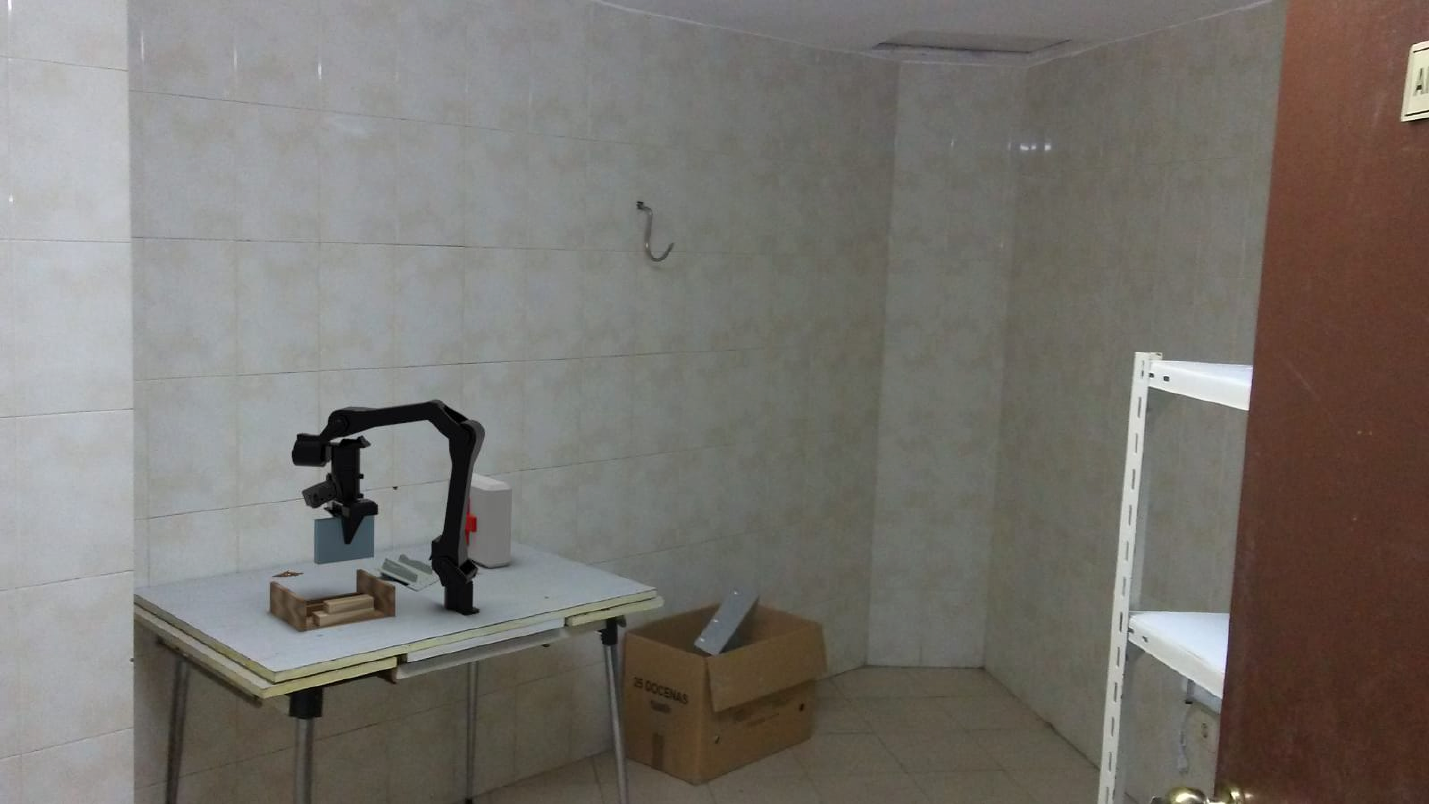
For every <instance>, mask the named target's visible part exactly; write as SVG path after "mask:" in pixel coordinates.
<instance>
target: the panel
mask: <svg viewBox="0 0 1429 804" xmlns="http://www.w3.org/2000/svg"><path fill="white" fill-rule="evenodd" d="M313 522H314V523H313V526H314V527H313V528H314V529H313V531H314V532H313V534H314V535H313V549H314V550H313V563H314V564H315V565H325V564H327V565H328V564H332V563H333V564H334V563H341V562H348V561H357V560H365V559H371V558H375V515H373V516H365V517H364V519H363V520H362V522H361V524H360V526H359V528H358V530H357V532H356V534H355V536H354V538H353V540H352V542H351V544H348V545H346V544H345V543H344V537H343V529H342V521H341V519H340V518H339V517H332V516H331V517H323V518H315V519H313Z"/></svg>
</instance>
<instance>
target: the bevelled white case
mask: <svg viewBox="0 0 1429 804" xmlns="http://www.w3.org/2000/svg"><path fill="white" fill-rule="evenodd" d="M450 477H451V474H450V475H449V476H448V477H447V492H448V491H449V484H450ZM512 497H513V487H511V485H509V484H508V483H507V482H503V481H500V480H497V479H494V478H490V477H487V476H485V475H481V474H478V473H475V472H473V474H472V481H471V488H470V495H469V503H468V510H467V517H466V524H465V536H466V540H467V549H468V558H469V559H470V560H471V561H472V560H473V561H472V562H474V561H475V563H477V564H480V565H481V566H483V565H484V566H483V567H486V568H488V569H492V568H500V567H506V566H507V565H508V563H509V562H510V561H511V553H512V552H511V551H512V550H511V545H512V543H511V541H512V538H511V537H512V505H513V502H512V501H513V500H512V499H513V498H512Z"/></svg>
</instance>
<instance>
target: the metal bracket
mask: <svg viewBox="0 0 1429 804" xmlns="http://www.w3.org/2000/svg"><path fill="white" fill-rule="evenodd" d="M374 570H375V571H377V572H379V575H380V576H383V577H386V578H387V577H391V578H393V579H396V580H399V581H401V582H403V583H406V584H408V585H406V588H407V589H410V590H412V591H414V592H418V593H419V592H421V591H423V590H424V589H423V588H425V587H426V588H428V587H429V586H428V585H430V586H432V585H434V584H436V583H438V582H440V581H439V580H440V579H439V576H438V575H437V574H436V573H435V572H434V570H432V566H431V565H430V564H429V563H426V562H423V561H422V560H418V559H413V558H412V559H411V558H409V557H408V556H407V555H406V554H405V553H401V554H400V555H399V557H397V558H394V559H392V560H391V559H389V558H388V557H384V562H383V563H382V564H381V565H378V566H377V567H374ZM437 581H438V582H437ZM433 583H434V584H433ZM427 586H428V587H427ZM426 588H425V589H426ZM422 589H423V590H422ZM420 590H421V591H420Z"/></svg>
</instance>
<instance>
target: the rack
mask: <svg viewBox="0 0 1429 804" xmlns="http://www.w3.org/2000/svg"><path fill="white" fill-rule="evenodd" d="M355 573H356V576H355V577H356V578H355V579H356V580H355V582H356V584H355V587H356V588H355V589H356V591H353V592H347V593H340V594H336V595H335V594H333V595H327V596H322V597H315V598H307V599H305V598H304V597H302V596H300V595H299V594H298V593H295V592H294V591H292V590H290V589H289V588H287V587H285V586H284V585H282V584H281V583H279V582H278V581H275V580H273V581H270V582H269V612H270V613H272V615H274V616H275V617H277V618H278V619H281V620H282V621H283V622H285V623H287V624H289V626H291V627H292V628H294V629H295V630H297V631H299V632H300V633H304V632H310V631H315V630H316V631H317V630H321V629H328V628H333V627H339V626H344V625H351V624H356V623H363V622H369V621H374V620H381V619H386V618H392V617H396V593H397V592H396V587H397V586H395V585H393V584H391V583H389V582H387V581H385V580H384V579H381V578H380V577H378V576H376V575H373V574H372V573H369V572H367V571H365V570H364V569H361V568H360V569H356V572H355ZM366 594H367V595H369V596H371V597H373V598H374V618H370V619H364V620H358V621H352V622H346V623H340V624H335V625H329V626H323V627H319V626H317V625H316V624H314V623H313V622H312V620H313V612H318V611H323V601H327V600H333V599H340V598H346V597H353V596H359V595H366Z"/></svg>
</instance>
